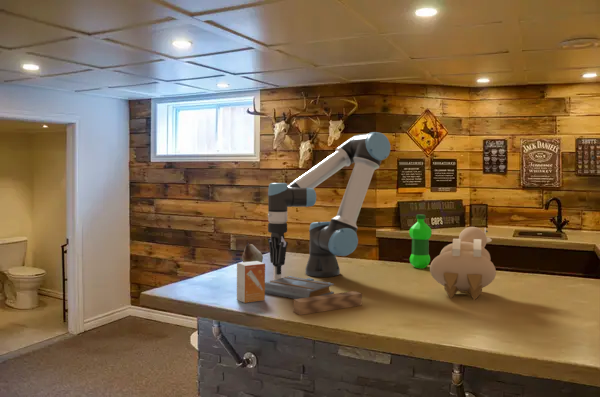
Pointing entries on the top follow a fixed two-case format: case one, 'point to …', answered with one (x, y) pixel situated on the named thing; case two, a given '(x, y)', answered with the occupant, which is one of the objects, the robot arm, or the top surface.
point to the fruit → (251, 254)
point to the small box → (250, 281)
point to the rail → (327, 302)
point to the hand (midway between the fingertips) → (277, 282)
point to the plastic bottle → (420, 243)
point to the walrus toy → (465, 264)
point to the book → (297, 287)
